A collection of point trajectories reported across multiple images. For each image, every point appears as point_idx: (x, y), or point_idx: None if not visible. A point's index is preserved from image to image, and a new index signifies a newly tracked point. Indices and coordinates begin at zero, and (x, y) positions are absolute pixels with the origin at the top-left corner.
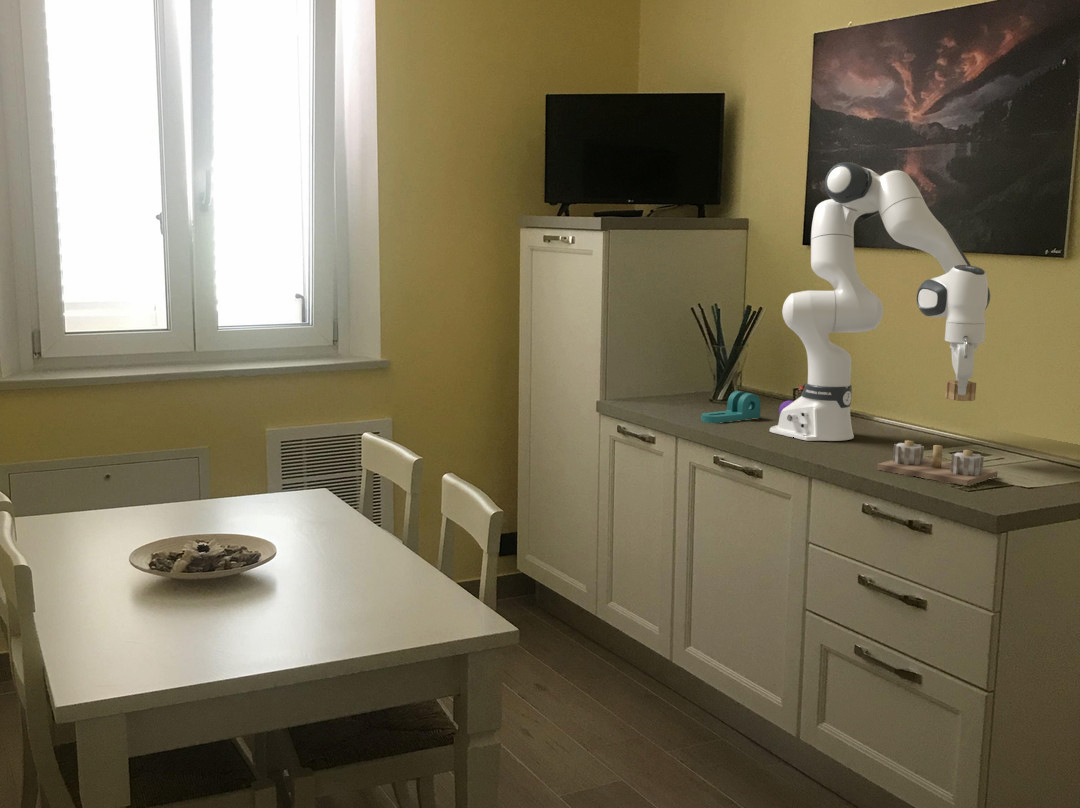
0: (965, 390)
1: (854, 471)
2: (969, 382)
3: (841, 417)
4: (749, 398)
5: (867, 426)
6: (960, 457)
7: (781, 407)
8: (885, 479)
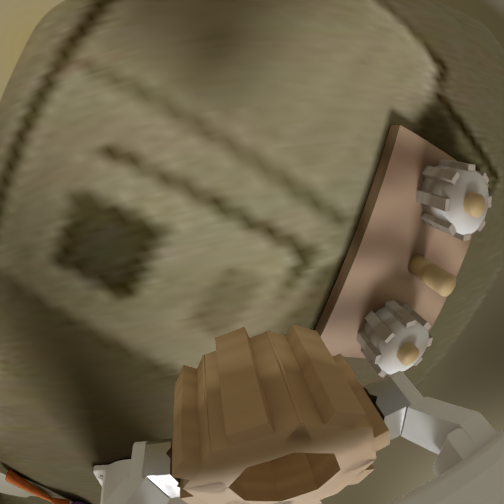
0: (412, 387)
1: (421, 371)
2: (253, 459)
3: (169, 501)
4: None
5: (23, 444)
6: (484, 215)
7: None
8: (461, 315)
